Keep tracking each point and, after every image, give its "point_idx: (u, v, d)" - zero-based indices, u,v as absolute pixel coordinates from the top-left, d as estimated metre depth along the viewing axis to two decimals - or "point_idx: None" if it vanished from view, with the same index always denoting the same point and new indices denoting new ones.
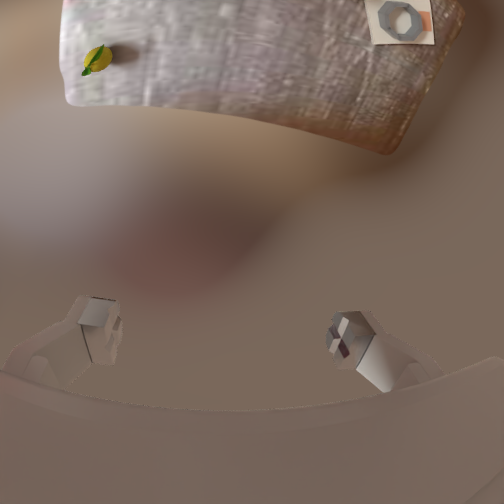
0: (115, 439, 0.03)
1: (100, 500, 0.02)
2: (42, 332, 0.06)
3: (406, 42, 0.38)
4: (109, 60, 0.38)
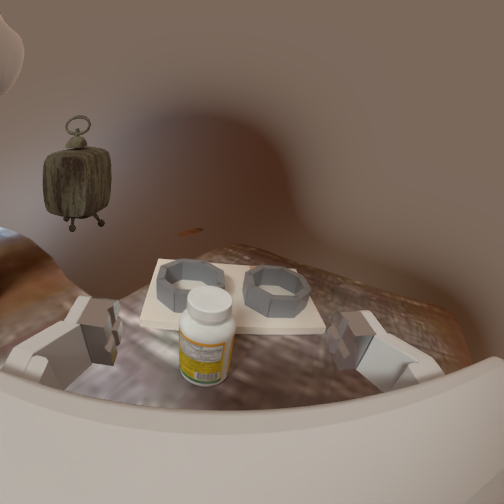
0: (115, 439, 0.03)
1: (100, 500, 0.02)
2: (42, 332, 0.06)
3: None
4: None
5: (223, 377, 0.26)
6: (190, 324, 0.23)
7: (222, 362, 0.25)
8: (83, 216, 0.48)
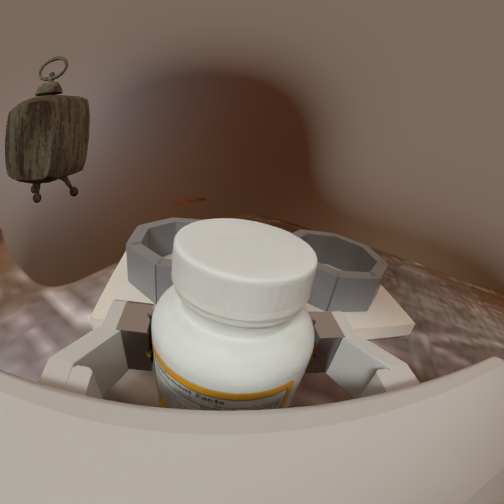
0: (115, 439, 0.03)
1: (100, 500, 0.02)
2: (79, 340, 0.06)
3: None
4: None
5: None
6: (182, 328, 0.07)
7: None
8: (48, 178, 0.32)
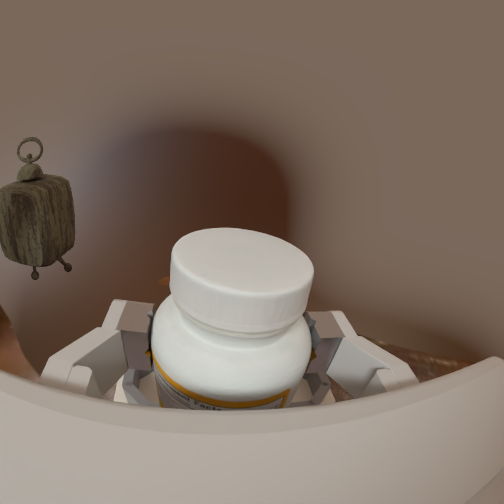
0: (115, 439, 0.03)
1: (100, 500, 0.02)
2: (79, 340, 0.06)
3: None
4: None
5: None
6: (180, 338, 0.07)
7: None
8: (42, 265, 0.35)
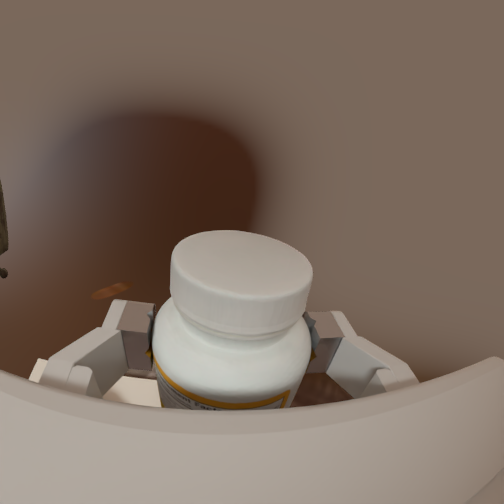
0: (115, 439, 0.03)
1: (100, 500, 0.02)
2: (80, 340, 0.06)
3: None
4: None
5: None
6: (180, 340, 0.07)
7: None
8: None
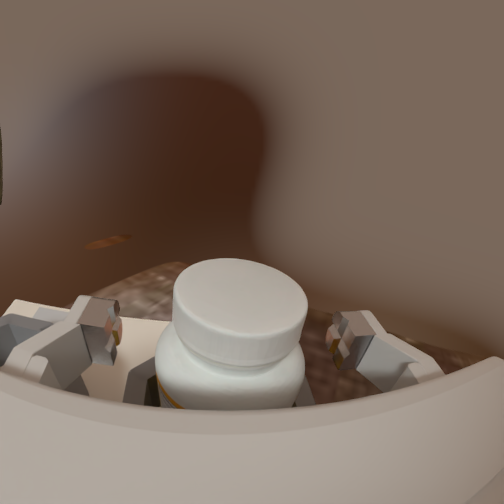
0: (115, 439, 0.03)
1: (100, 500, 0.02)
2: (42, 332, 0.06)
3: None
4: None
5: None
6: (183, 366, 0.07)
7: None
8: None
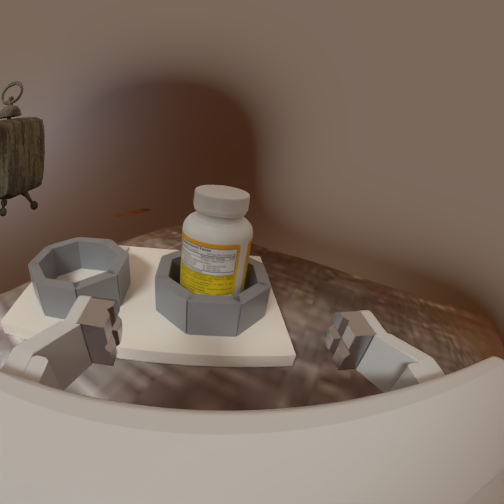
0: (115, 439, 0.03)
1: (100, 500, 0.02)
2: (42, 332, 0.06)
3: (269, 292, 0.26)
4: None
5: None
6: (196, 221, 0.19)
7: (235, 279, 0.20)
8: (7, 195, 0.31)
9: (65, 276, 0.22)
